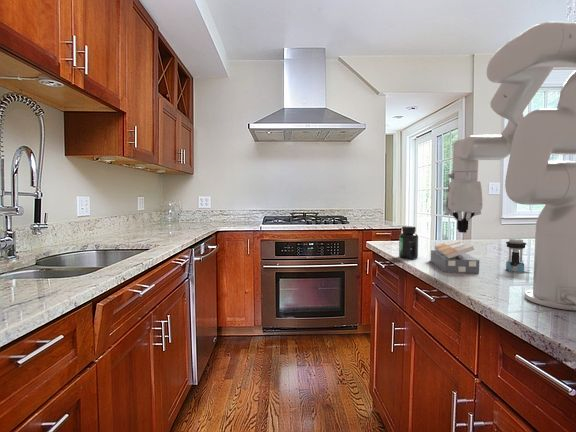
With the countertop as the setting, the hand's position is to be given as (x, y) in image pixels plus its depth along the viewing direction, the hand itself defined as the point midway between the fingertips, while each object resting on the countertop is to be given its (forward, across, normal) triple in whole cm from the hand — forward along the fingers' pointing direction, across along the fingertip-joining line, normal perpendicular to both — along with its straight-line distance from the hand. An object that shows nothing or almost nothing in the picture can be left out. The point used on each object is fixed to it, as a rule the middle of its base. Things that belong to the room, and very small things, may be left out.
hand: (462, 232), depth 113 cm
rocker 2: (+6, -3, -1) cm, 7 cm away
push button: (+12, +15, -5) cm, 20 cm away
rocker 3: (+6, -3, -7) cm, 9 cm away
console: (+12, -3, -1) cm, 12 cm away
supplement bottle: (+12, -15, +13) cm, 23 cm away
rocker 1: (+6, -3, +5) cm, 8 cm away
